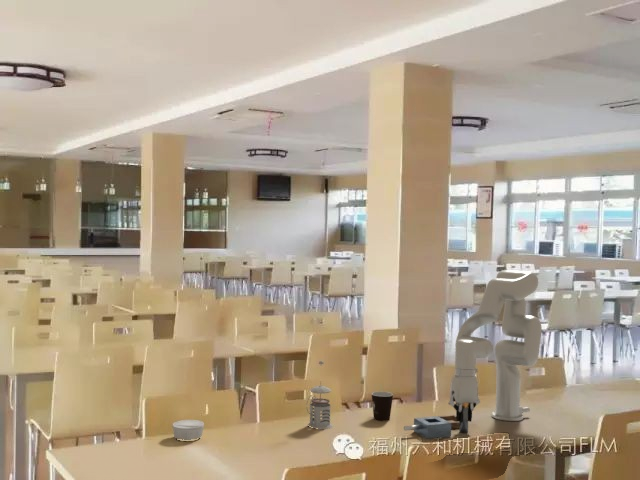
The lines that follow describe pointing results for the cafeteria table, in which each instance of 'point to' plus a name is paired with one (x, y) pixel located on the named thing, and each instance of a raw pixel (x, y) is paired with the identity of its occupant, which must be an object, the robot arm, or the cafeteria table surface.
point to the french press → (320, 408)
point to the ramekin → (188, 429)
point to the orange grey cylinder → (464, 418)
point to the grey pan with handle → (431, 427)
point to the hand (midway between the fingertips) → (464, 420)
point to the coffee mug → (382, 405)
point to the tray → (451, 421)
